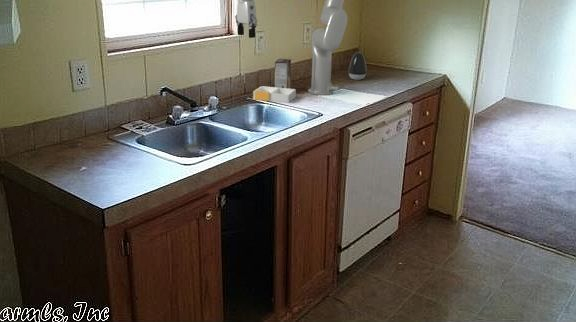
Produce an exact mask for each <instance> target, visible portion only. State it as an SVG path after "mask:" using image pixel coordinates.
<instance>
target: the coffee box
mask: <svg viewBox="0 0 576 322" xmlns="http://www.w3.org/2000/svg"><path fill="white" fill-rule="evenodd" d="M291 64H292V59H289V58H278V59H277V60H276V61H275V62H274V87H277V88H288V89H291V78H292V77H291V75H292V74H291V73H292V69H291V68H292V67H291Z"/></svg>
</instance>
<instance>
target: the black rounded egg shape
mask: <svg viewBox="0 0 576 322" xmlns="http://www.w3.org/2000/svg"><path fill="white" fill-rule="evenodd" d="M347 72H348V75H349V78H350V79H351V80H353V79H354V81H361V79H362V80H363V79H365V77H366V76H367V63H366V58H365V56H364V52H360V51H358V52H354V54H353V56H352V57H351V60H350V63H349V65H348V71H347Z"/></svg>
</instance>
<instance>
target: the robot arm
mask: <svg viewBox="0 0 576 322" xmlns="http://www.w3.org/2000/svg"><path fill="white" fill-rule="evenodd" d="M236 1H237V3H236V4H237V5H236V15H234V17H235V23H236V28H237V36H244V34H245V26H244V25H248V38H249V39H254V38H256V29H257V25H258V19H257V7H256V2H255V0H236ZM344 1H345V0H325V2H324V5H323V8H322V11H321V15H320V22H321V24H322V25H324V26H326V28H324V27H323V28H317V29H316V30H314V31H313V33H312V35H311V46H312V47H311V48H312V62H311V64H312V65H311V85H310V86H311V87H309V88H308V90H307V92H308V93H309V94H311V95H316V96H317V95H318V96H326V95H331V94H333V93H334V91H337V92H338V91H339V88H340V87H339V86H337V85H333V84H332V82H331V79H332V78H331V77H332V61H333V59H332V58H333V56H332V52H333V51H336V50H337V49H338V48H339V47H340V45H341V43H342V41H343V37H344V34H345V31H346V27H347V25H348V14H347V12H346V11H345V10H344V9H343V6H344Z"/></svg>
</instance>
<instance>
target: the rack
mask: <svg viewBox="0 0 576 322" xmlns="http://www.w3.org/2000/svg"><path fill="white" fill-rule="evenodd" d="M295 98H297V89H296V88H290V89H288V88H277V87H275V86H265V85H263V86H262V85H261V86H259V87H257V88H256V89H255V90H252V100H255V101H263V102H264V101H265V102H276V103H277V102H278V103H285V104H287V103H288V104H289V103H290V102H291V101H293V100H294V99H295Z"/></svg>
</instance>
